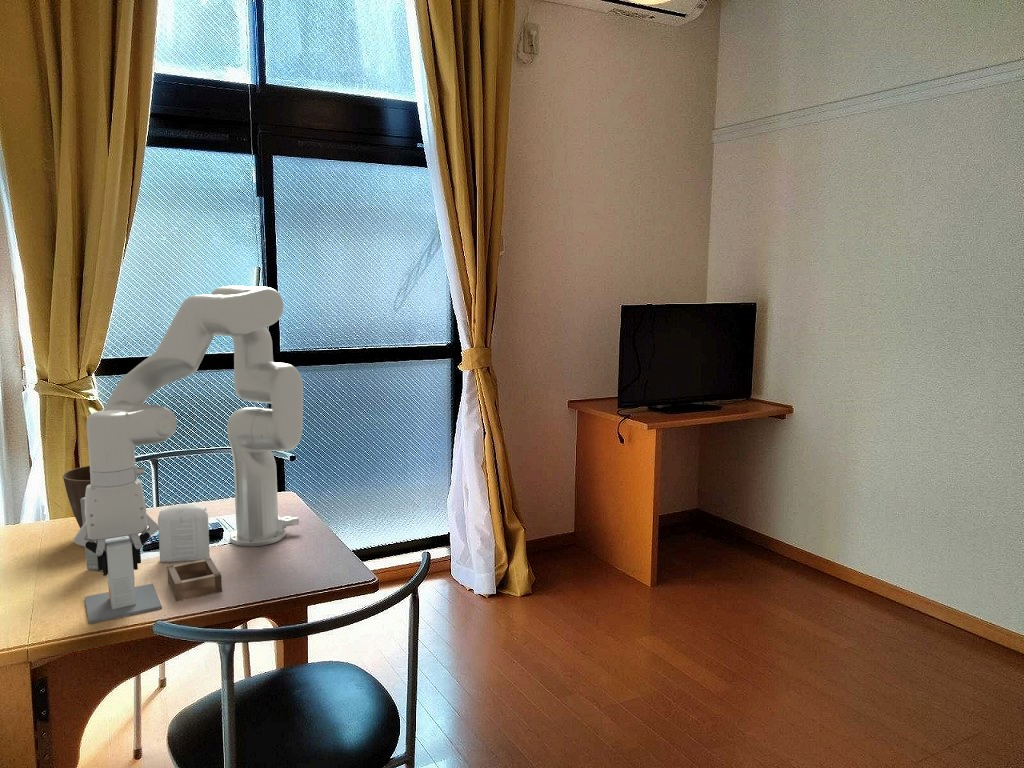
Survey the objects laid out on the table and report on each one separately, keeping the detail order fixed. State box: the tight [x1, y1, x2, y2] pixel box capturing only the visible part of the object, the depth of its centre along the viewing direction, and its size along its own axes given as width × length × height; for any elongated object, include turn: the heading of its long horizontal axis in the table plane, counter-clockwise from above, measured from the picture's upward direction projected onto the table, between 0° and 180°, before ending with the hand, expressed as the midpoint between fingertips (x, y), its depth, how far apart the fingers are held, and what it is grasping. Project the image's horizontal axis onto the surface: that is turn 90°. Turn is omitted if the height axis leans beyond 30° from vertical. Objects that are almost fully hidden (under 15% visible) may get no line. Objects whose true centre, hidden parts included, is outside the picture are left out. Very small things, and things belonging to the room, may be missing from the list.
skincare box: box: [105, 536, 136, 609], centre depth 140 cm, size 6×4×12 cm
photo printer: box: [157, 503, 211, 563], centre depth 163 cm, size 10×4×12 cm, turn 103°
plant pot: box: [62, 465, 91, 530], centre depth 176 cm, size 15×15×16 cm
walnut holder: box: [166, 557, 223, 602], centre depth 149 cm, size 8×10×4 cm
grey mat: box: [84, 583, 163, 625], centre depth 141 cm, size 12×12×1 cm
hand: (120, 569), depth 140 cm, fingers open, 4 cm apart
